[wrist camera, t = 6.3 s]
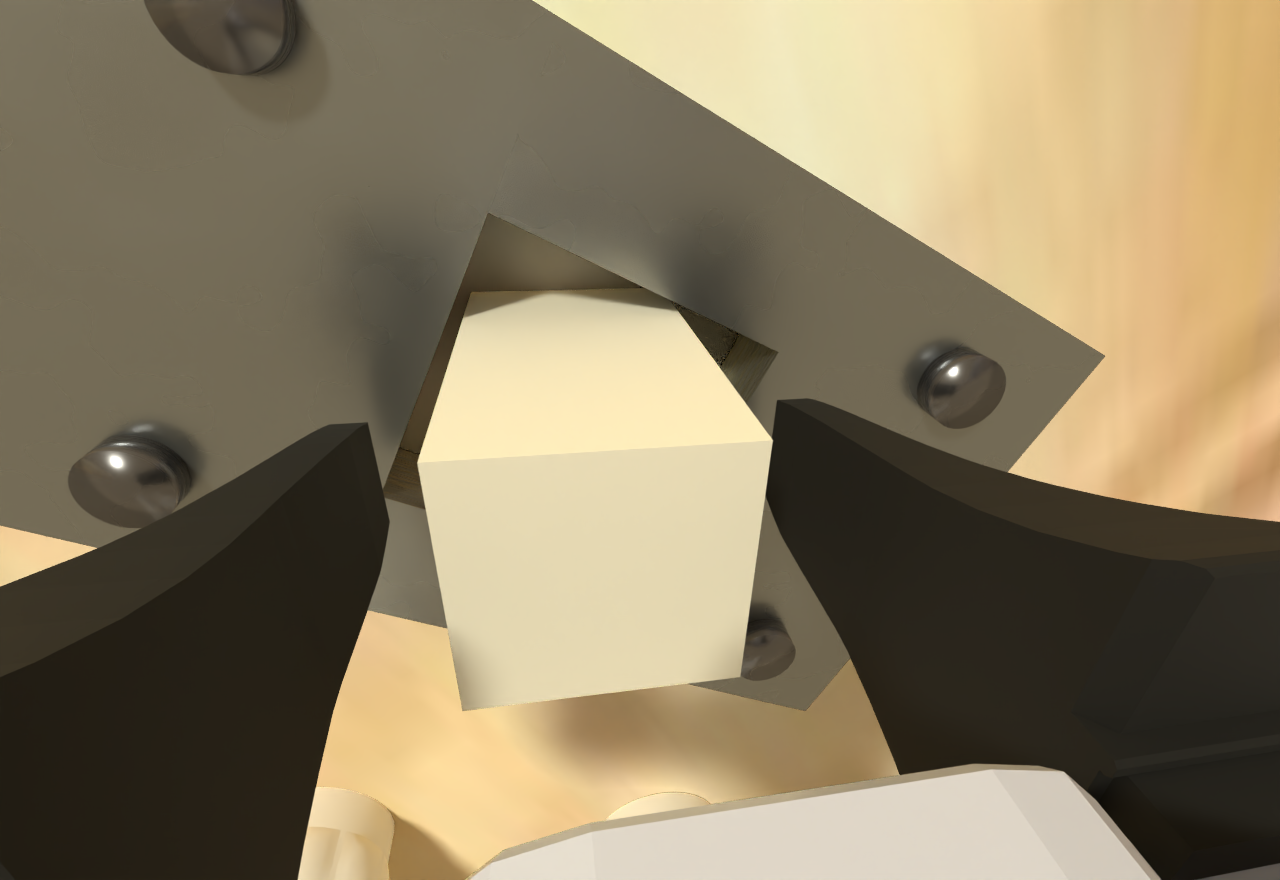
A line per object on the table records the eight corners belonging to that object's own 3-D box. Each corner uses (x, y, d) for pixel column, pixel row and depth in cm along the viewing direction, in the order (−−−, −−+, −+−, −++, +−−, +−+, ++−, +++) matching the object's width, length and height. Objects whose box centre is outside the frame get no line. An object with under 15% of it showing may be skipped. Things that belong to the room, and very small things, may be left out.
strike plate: (1039, 327, 15) (1128, 366, 13) (780, 657, 20) (813, 729, 17) (80, -258, 8) (-88, -393, 6) (12, 453, 13) (-99, 529, 10)
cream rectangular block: (661, 287, 13) (773, 440, 7) (655, 448, 15) (740, 677, 9) (471, 292, 13) (417, 463, 7) (490, 458, 15) (462, 711, 8)
